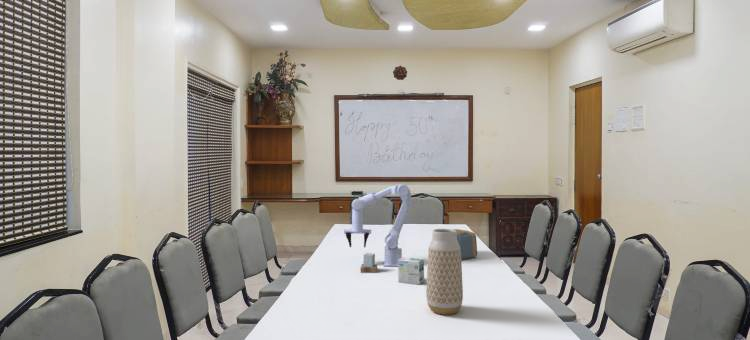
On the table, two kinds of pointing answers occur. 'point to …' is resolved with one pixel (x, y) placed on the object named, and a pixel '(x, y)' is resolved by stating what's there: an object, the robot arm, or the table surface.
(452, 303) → the vase
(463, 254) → the alarm clock
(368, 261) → the grey block
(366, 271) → the walnut base
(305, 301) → the table surface
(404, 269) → the light bulb box
